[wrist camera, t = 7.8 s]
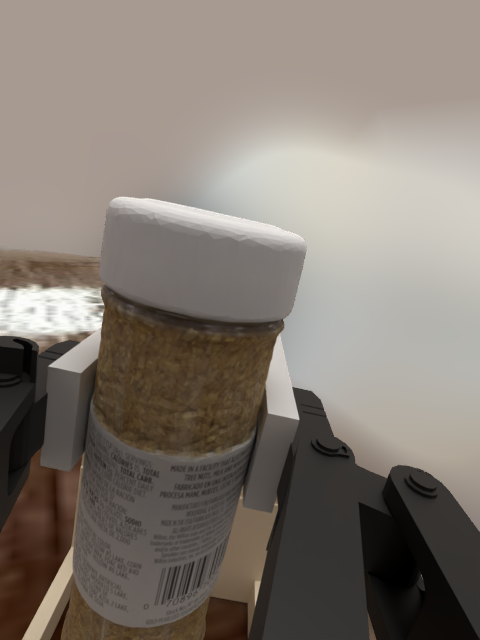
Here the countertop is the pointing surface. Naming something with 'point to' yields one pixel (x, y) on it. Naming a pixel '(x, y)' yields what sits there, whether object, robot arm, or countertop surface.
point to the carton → (232, 584)
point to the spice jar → (173, 411)
